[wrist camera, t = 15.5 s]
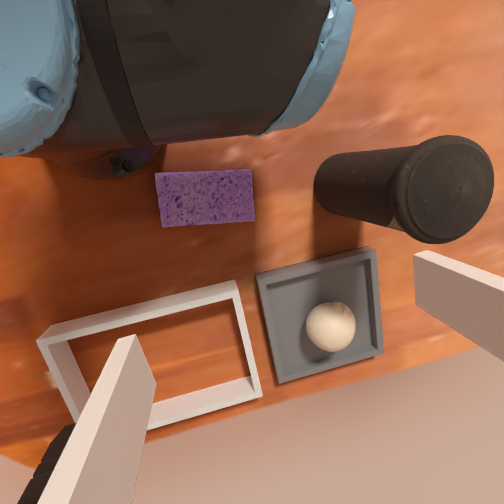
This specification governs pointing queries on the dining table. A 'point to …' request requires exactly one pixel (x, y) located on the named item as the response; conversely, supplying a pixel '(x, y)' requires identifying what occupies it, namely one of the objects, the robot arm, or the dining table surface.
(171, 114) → the robot arm
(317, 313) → the cream round ball
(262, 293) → the slate tray
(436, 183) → the container
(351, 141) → the dining table surface
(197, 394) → the light grey rectangular frame
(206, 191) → the sponges
